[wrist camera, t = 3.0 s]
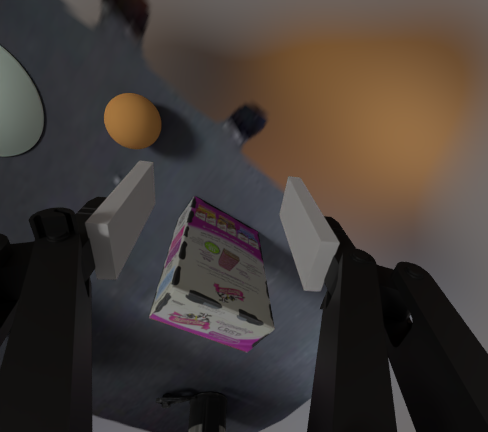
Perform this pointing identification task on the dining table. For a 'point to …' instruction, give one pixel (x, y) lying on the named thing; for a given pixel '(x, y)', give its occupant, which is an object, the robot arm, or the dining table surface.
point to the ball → (132, 121)
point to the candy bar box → (214, 280)
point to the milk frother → (202, 410)
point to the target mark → (18, 108)
